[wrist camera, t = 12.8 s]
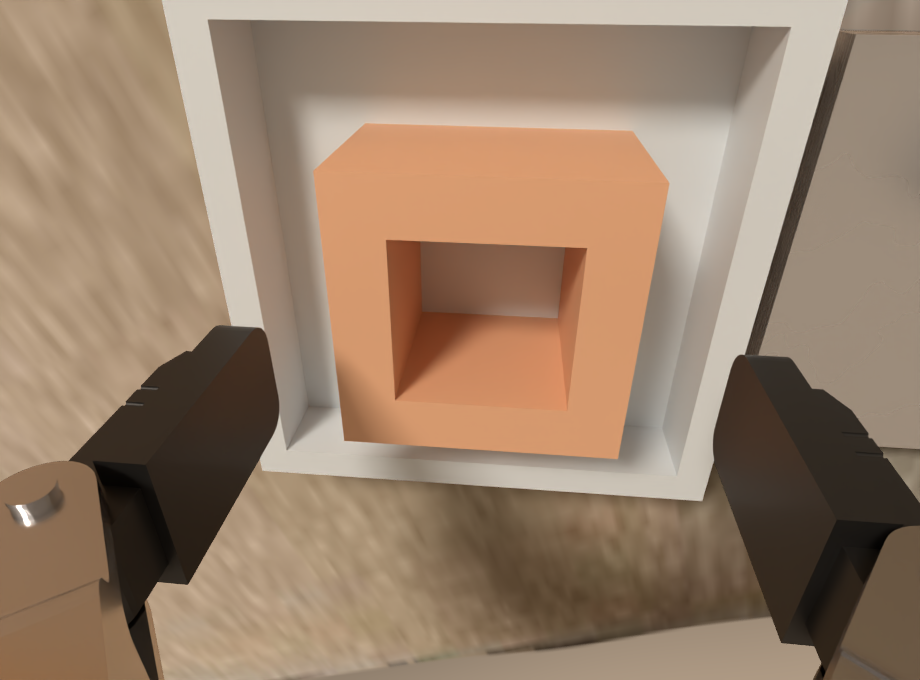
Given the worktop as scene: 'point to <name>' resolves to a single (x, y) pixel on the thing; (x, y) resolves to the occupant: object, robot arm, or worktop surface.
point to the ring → (475, 335)
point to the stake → (856, 241)
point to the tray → (493, 265)
